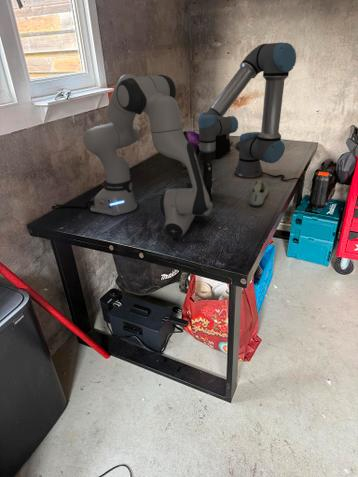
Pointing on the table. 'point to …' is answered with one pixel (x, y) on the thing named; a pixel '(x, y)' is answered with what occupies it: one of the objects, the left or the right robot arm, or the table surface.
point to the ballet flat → (258, 193)
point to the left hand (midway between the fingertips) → (192, 199)
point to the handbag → (222, 145)
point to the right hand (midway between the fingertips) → (207, 196)
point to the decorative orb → (193, 139)
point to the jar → (189, 184)
